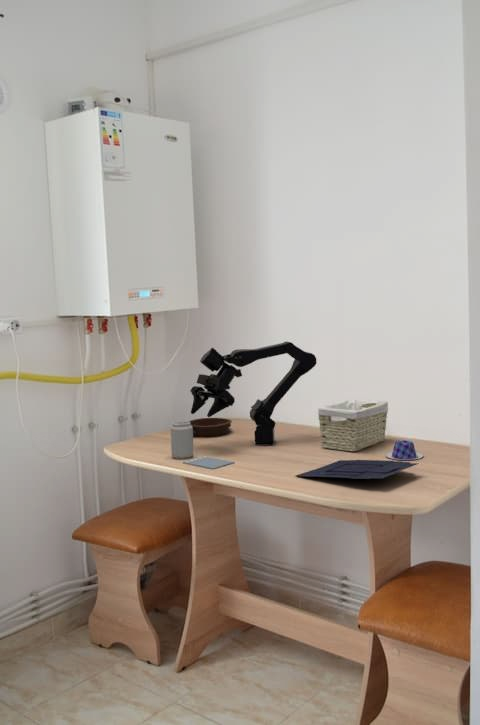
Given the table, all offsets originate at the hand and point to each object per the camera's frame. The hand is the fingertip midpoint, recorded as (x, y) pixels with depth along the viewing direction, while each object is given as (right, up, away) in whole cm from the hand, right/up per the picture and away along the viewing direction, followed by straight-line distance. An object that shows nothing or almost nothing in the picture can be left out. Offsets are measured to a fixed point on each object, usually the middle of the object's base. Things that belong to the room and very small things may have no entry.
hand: (199, 414), depth 264 cm
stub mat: (+4, -15, -14) cm, 20 cm away
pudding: (+68, -13, -13) cm, 71 cm away
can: (-6, -14, -4) cm, 16 cm away
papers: (+49, -16, -35) cm, 63 cm away
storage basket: (+55, -11, +7) cm, 56 cm away
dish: (+2, -10, +34) cm, 36 cm away
